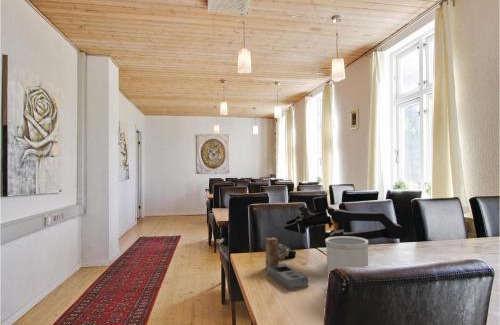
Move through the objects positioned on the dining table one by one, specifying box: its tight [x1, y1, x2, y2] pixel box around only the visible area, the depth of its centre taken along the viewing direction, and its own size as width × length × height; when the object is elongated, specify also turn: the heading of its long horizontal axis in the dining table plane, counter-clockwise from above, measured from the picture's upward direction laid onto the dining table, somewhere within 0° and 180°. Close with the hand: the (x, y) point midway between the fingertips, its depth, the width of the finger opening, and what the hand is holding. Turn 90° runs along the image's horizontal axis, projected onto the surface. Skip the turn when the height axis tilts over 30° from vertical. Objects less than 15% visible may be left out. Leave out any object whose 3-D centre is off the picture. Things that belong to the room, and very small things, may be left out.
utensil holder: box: [324, 236, 369, 276], centre depth 109 cm, size 15×15×18 cm
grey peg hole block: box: [266, 263, 309, 291], centre depth 118 cm, size 18×8×4 cm, turn 22°
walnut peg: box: [265, 237, 279, 269], centre depth 133 cm, size 4×4×13 cm
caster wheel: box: [278, 243, 297, 260], centre depth 151 cm, size 7×11×10 cm
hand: (285, 225), depth 147 cm, fingers open, 9 cm apart
